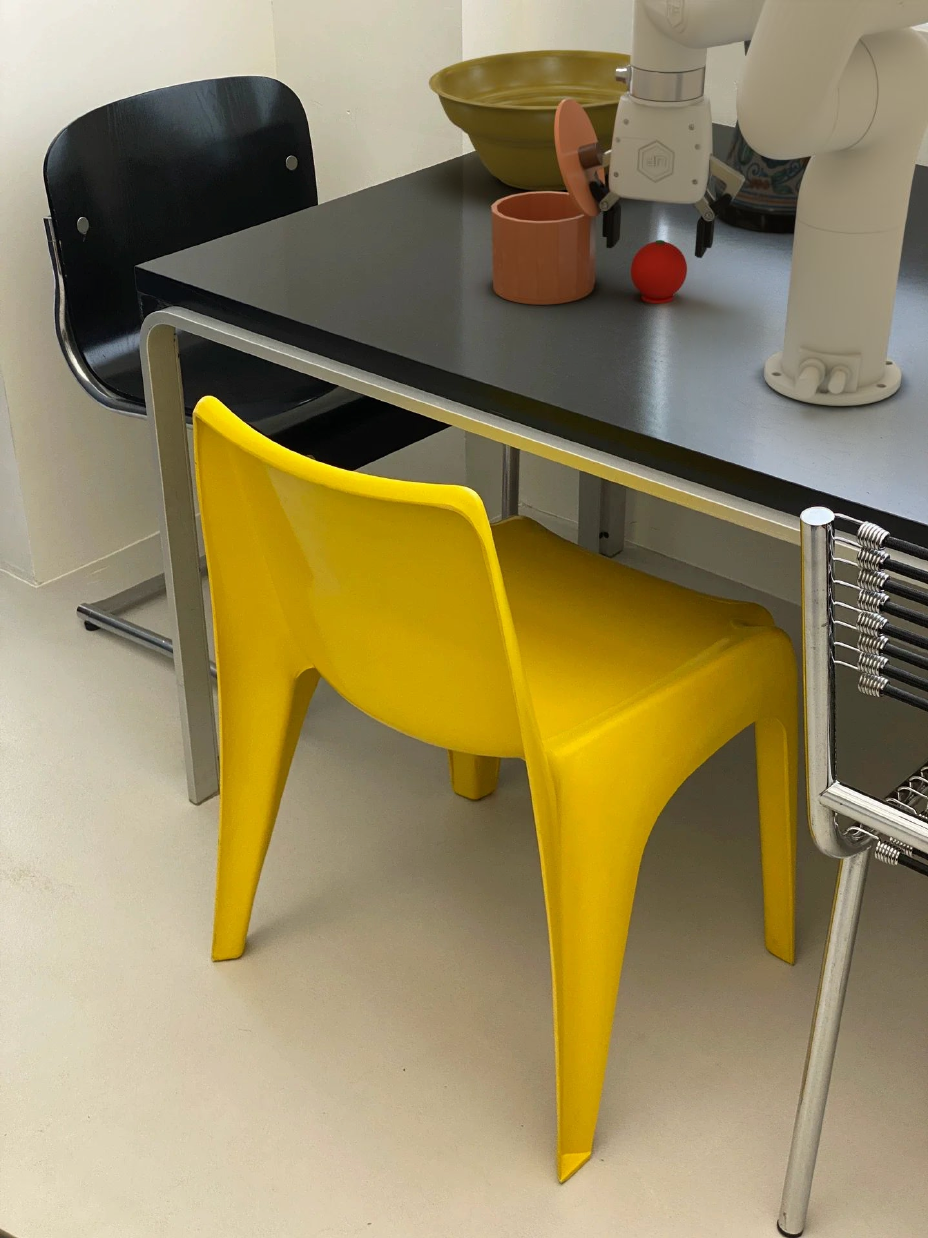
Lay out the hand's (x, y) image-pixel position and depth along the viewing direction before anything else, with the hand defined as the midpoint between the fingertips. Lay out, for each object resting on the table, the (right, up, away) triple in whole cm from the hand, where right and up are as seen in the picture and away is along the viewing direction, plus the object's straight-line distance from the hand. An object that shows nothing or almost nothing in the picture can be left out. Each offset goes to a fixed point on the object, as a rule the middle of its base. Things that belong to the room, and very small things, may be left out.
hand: (656, 248), depth 152 cm
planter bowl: (-9, +21, +42) cm, 48 cm away
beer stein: (+20, +11, +25) cm, 34 cm away
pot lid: (-9, +9, -3) cm, 13 cm away
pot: (-12, -3, +6) cm, 14 cm away
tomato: (0, -5, +2) cm, 5 cm away
